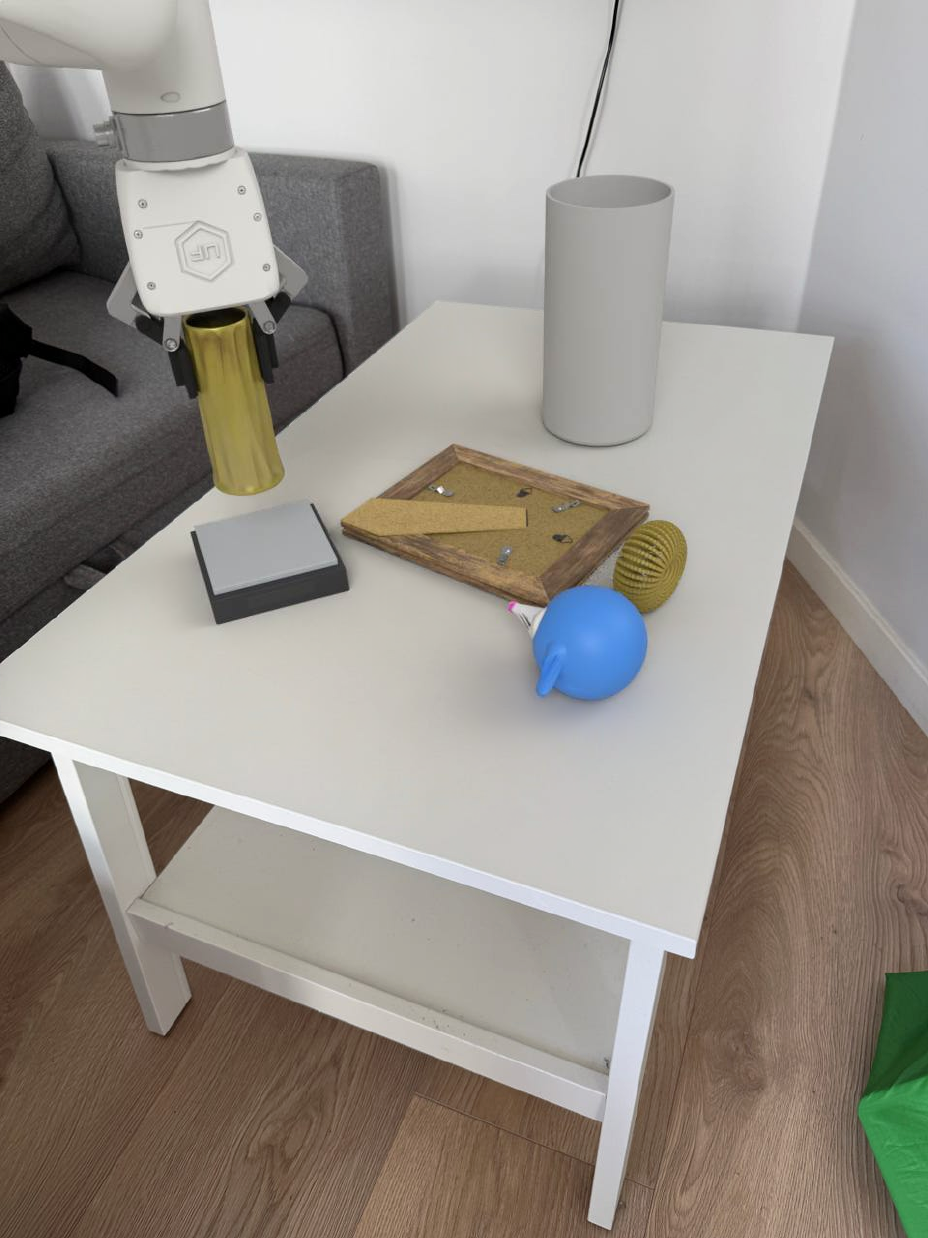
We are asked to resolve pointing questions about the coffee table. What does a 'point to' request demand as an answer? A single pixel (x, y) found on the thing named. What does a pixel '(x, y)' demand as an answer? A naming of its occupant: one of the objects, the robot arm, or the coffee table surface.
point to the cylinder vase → (604, 305)
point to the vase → (233, 401)
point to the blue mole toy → (585, 641)
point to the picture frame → (497, 524)
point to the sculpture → (650, 564)
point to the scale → (267, 561)
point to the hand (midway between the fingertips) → (229, 382)
